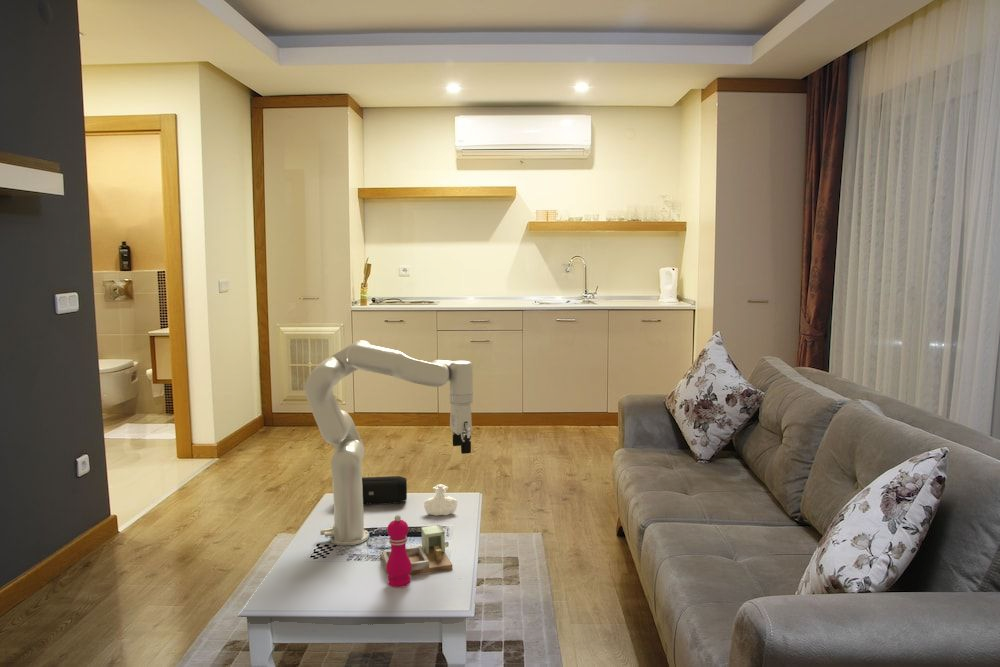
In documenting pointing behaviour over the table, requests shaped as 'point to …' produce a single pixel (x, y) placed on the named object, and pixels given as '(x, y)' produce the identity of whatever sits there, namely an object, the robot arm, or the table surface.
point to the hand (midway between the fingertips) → (461, 449)
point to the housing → (433, 538)
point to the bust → (440, 502)
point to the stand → (423, 560)
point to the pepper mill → (398, 554)
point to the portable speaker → (384, 490)
